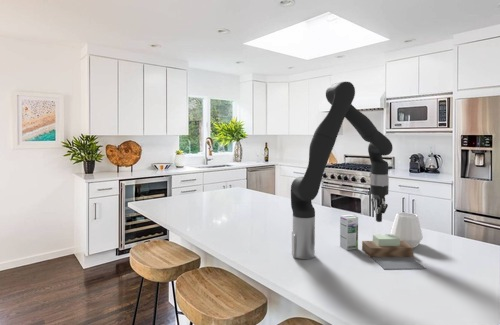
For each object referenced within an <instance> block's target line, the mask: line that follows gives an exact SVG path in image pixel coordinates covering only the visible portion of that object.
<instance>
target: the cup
mask: <svg viewBox="0 0 500 325" xmlns="http://www.w3.org/2000/svg"><path fill="white" fill-rule="evenodd" d="M390 234H394V235H395V236H396V237H398V238H399V239H400V241H404V242H406V243H407V244H409V245H410V246H411V247H413V248H416V247H418V245H419V244H420V242H421V241H422V240H423V232H422V228H421V223H420V220H419V216H418V215H417V214H416V213H412V212H406V211H405V212H403V211H402V212H398V213H396V215H395V217H394V221H393V223H392V227H391V230H390Z"/></svg>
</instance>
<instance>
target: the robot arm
mask: <svg viewBox="0 0 500 325" xmlns="http://www.w3.org/2000/svg"><path fill="white" fill-rule="evenodd" d="M355 96H356V87H355V86H354V84H353V83H352V82H351V81H340V82H336V83H332V84H330V85H329V86H328V87H327V88H326V91H325V98H326V100H327V102H328V103H329V104H330V109H329V111H328V112H327V114H326V116H324V118H323V119H322V121H321V122H320V123H319V124H318V126H317V128H316V129H315V131H314V132H313V135H312V138H311V141H310V144H309V151H308V164H307V167H306V170H305V172H304V176H297V177H295V179H293V181H292V182H291V185H290V206H291V212H292V231H291V254H292V258H294V259H300V260H310V259H311V260H312V259H313V258H315V256H316V255H315V254H316V253H315V251H316V250H315V248H316V247H315V246H316V240H315V238H316V233H315V232H316V231H315V230H316V210H315V207H314V206H313V203H312V201H313V200H314V199H316V197H317V196H318V193H319V191H320V187H321V184H322V179H323V177H324V172H325V170H326V167H327V164H328V161H329V158H330V156H331V154H332V151H333V149H334V147H335V143H336V142H337V138H338V135H339V132H340V130H341V127H342V125H343V122H344V119H346V121H348V122H349V123H350V124H351V125H352V127H353V128H354V129H355V131H357V133H358V134H359V136H360V137H361V138H362V139H363V140H364V141H365V142H367V143H368V146H367V152H368V157H369V161H370V165H371V167H370V168H371V171H370V172H371V174H370V194H371V195H373V198H371V204H372V205H371V206H372V209H373V211H374V212H375V221H376V222H377V223H381V222H382V221H383V215H384V214H386V211H387V208H388V203H386V196H388V195H389V188H390V187H389V184H390V182H389V163H388V161H386V160H385V159H384V158H383V156H389V155H390V154H391V153H392V151H393V150H394V149H393V144H392V141H391V139H389V138H388V137H387V136H386V135H385V134H383V133H382V132H381V131H380V130H378V129H377V126H375V125H374V123H373V121H371V119H370V118H369V117H367V115H366V114H364V113H363V112H361V111H360V110H358V109H357V108H356V107H355V106H354V105H353V104H352V103H353V101H354V99H355Z"/></svg>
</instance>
